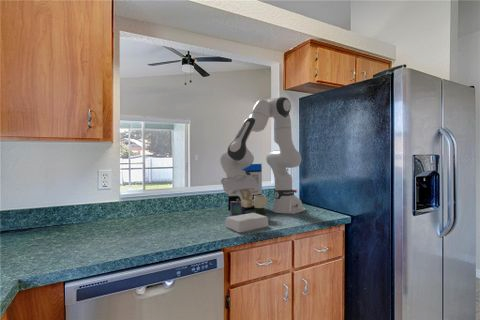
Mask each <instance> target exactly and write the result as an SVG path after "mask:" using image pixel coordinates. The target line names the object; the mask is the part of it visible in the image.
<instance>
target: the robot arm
mask: <svg viewBox="0 0 480 320" xmlns="http://www.w3.org/2000/svg"><path fill="white" fill-rule="evenodd" d="M291 109H292V103H291V101H290V100H289V99H288V98H287V97H286V96H285V97H284V96H280V97H275V98H271V99H267V100H265V99H259V100H258V101H256V102H255V104H254V105H253V107H252V109H251V111H250V113H249V116H248V117H247V118H246V119H245V120H244V121H243V123H242V124H241V126H240V128H239V130H238V132H237V134H236V135H235V138H233V140H232V141H231V143H230V144H229V145H228V147H227V151H226V152H224V153H223V154H221V156H220V158H219V163H220V165H221V168H222V170H223V172H224V173H225V174H226V175H225V176H226V177H222V178H221V179H220V183H221V185H222V188H223V191H224V193H225V194H226V195H228V194H234V193H236V195H237V196H239V197H240V199H244V195H242V194H241V191H243V190H250V191H252V192H253V191H257V190H258V188H259V185H258V183H257V181H256V180H255V178H254V177H252V173H250V172H246V171H243V169H245V168H247V167H249V166H250V165H251V164H254V159H255V157H254V154H253V152H251V151H250V150H249V148H248V146H247V142H248V140H249V137H250V136H251V133H252V132H254V133H255V132H256V133H259V132H262V131H263V130H264V129H265V128H266V126H267V125H268V122H269V119H270V118H273V141H274V143H275V144H277V145H278V147H279V149H277V150H272V151H270V152H268V153H267V155H266V163H267V165H269V166H270V168H271V170H272V174H273V178H274V188H273V196H274V198H273V207H272V210H271V211H272V212H273V213H277V214H290V215H291V214H293V215H294V214H298V213H301V212H305V211H306V210H307V208H305V207H304V206H303V203H302V200H301V199H300V198H299V197H297V195H295V194H296V193H297V192H298V190H297V189H293V177H292V175H291V174H290V173H289V172H288V169H289V168H290V169H292V168H297V167H299V166H300V165H301V163H302V155H301V153H300V152H299V151H298V150H297V148H296V146H295V145H294V142H293V135H292V121H291V116H290V115H291V114H290V113H291ZM252 197H253V195H252Z"/></svg>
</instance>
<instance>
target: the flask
mask: <svg viewBox="0 0 480 320" xmlns="http://www.w3.org/2000/svg"><path fill="white" fill-rule="evenodd" d="M236 200H237V202H235V201H231V202H230V210H229V211H230V216H229V217H231V216H237V215H243V214H246V210H245V207H242V206H241V202H240V201H239V199H236Z"/></svg>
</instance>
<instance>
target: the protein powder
mask: <svg viewBox="0 0 480 320" xmlns="http://www.w3.org/2000/svg"><path fill="white" fill-rule="evenodd" d="M262 166H263V165H262V163H252V164H251V165H250V166H249V167H247V168H245V169H243V171H246V172H250V173H252V177H254V178H255V180H256V181H257V183H258V185H259V188H258V190H257V191H253V192H252V195H253V197H252V200H254V196H255V195H263V192H262V190H263V188H262V187H263V184H262V183H263V180H262V179H263V172H262V171H263V170H262V169H263V167H262ZM227 195H228V198H227V199H228V201H227V202H228V203H227V204H228V205H227V206H228V211H230V202H231V201H235V202H237V200H236V199H239V201H240V202H241V199H240V197H239V196H237V195H236V193H234V194H227ZM253 204H254V201H253ZM251 210H256V207H254V206H252V207H246V208H245V211H251Z"/></svg>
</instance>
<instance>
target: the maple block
mask: <svg viewBox="0 0 480 320" xmlns="http://www.w3.org/2000/svg"><path fill="white" fill-rule="evenodd" d="M241 194H242V195H244V199H241V206H242V207H245V208H246V207H252V191H250V190H243V191H241Z"/></svg>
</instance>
